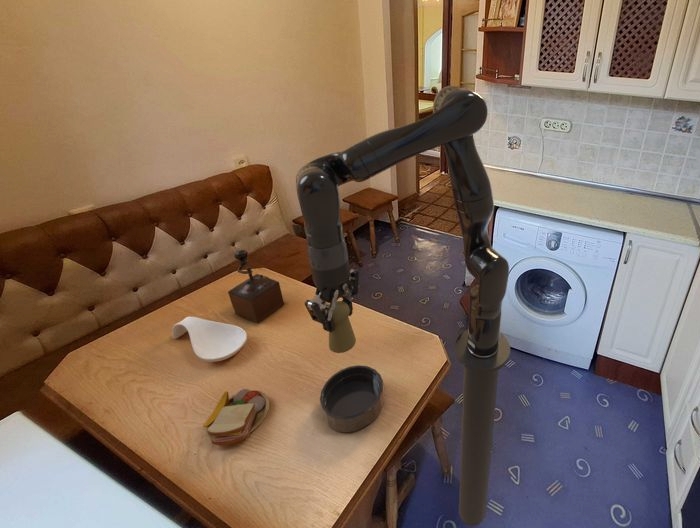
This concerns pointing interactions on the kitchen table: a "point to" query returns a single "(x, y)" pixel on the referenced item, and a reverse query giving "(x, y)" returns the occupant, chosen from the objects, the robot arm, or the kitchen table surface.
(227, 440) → the toy sandwich meal
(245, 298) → the dark brown coffee grinder
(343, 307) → the cork
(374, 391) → the dark grey bowl
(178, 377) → the kitchen table surface
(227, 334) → the spoon rest
